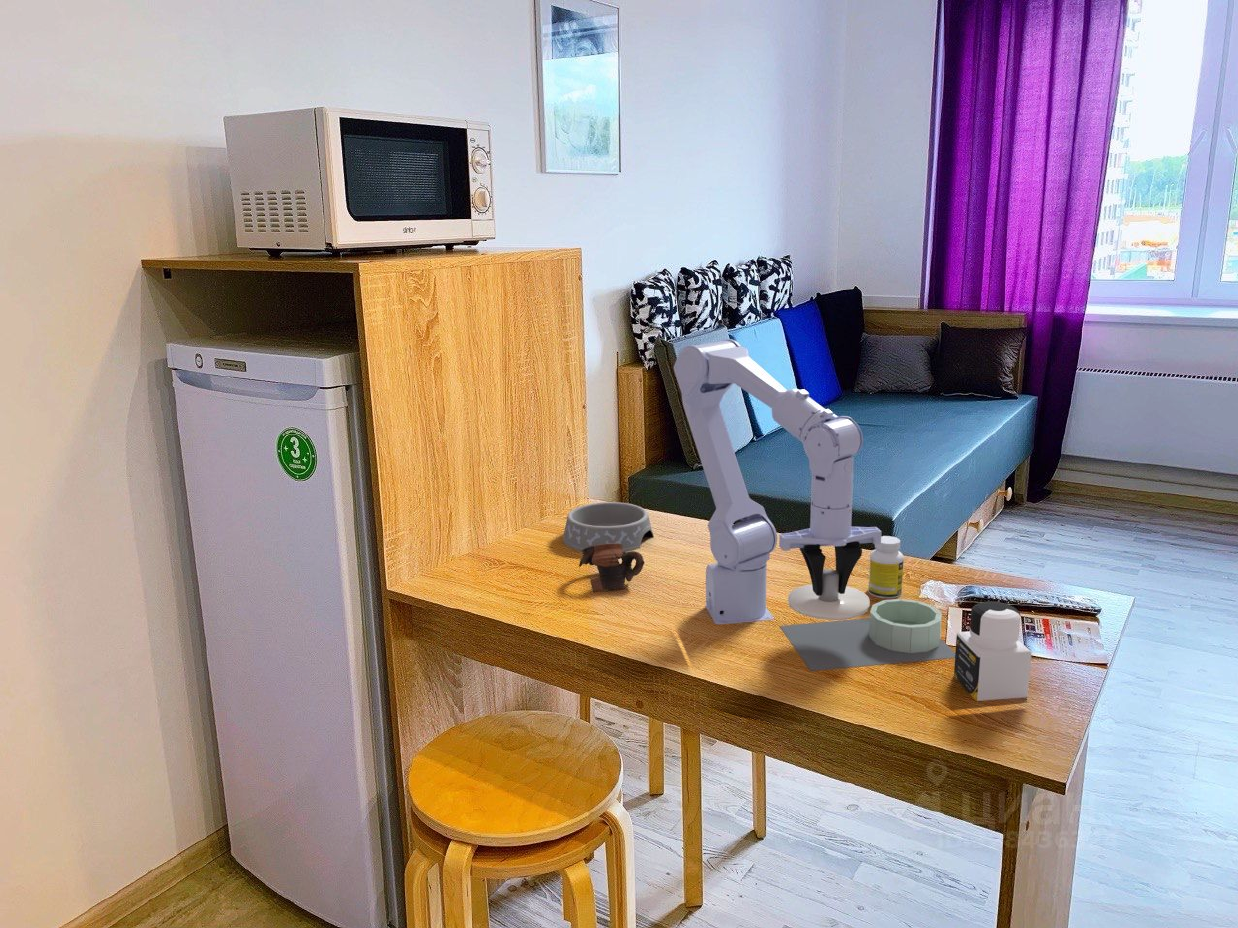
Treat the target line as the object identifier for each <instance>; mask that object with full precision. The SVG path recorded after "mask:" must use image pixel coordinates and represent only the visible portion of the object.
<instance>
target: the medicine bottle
mask: <svg viewBox="0 0 1238 928" xmlns="http://www.w3.org/2000/svg"><path fill="white" fill-rule="evenodd" d="M1020 627H1021V613H1020V612H1019V610H1018V609H1017V608H1016V607H1014V606H1012V605H1009V604H1007V603H1004V602H1000V601H994V600H993V601H990V600H989V601H981V602H979V603H976V604H975V605H973V606H972V607H971V610H970V623H969V631H958V632H957V633H956V637H955V641H956V642H955V651H954V652H955V658H954V665H953V667H954V668H953V677H954V679H956V680H957V681H958V683H959V684H960V685H961V686H962V687H963V688H964V690H965V691H966V692H967V693H968V694H969V695H970V696H971V697H972V699H974V701H977V702H979V701H992V700H1006V699H1008V700H1009V699H1022V698H1028V695H1029V685H1030V675H1031V663H1032V651H1031V650H1030V649H1029V648H1028V647H1027V646H1025V645H1024V643H1022V642H1021V641H1020V640H1019V637H1020Z"/></svg>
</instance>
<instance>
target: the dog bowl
mask: <svg viewBox="0 0 1238 928" xmlns="http://www.w3.org/2000/svg"><path fill="white" fill-rule="evenodd" d="M650 521H651V520H650V516H649V513H648V511H647V510H646V509H644V508H643V507H641V506H639V505H636V504H632V503H627V502H619V501H618V502H617V501H604V502H603V501H602V502H593V503H589V504H588V503H587V504H583V505H581V506H577V507H575V508H574V509H571V510H570V511H569V513H568V514H567V516H566V522H565V526H564V531H563V535H562V543H563V544H564V545H565V546H567V547H568V548H570V549H571V550H575V551H577V552H582V550H583V549H585V548H588V547H590V546H595V545H600V544H607V543H619V544H622V545H623V551H625V552H631V551H635V550H639V549H641V544H642V540H643V537H644V536H645V534H646V533H649V532H650V533H651V534H652V537H653V538H654V533H653V532H654V531H653V529H652V526H651V522H650ZM582 553H583V552H582Z"/></svg>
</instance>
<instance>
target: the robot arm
mask: <svg viewBox="0 0 1238 928" xmlns="http://www.w3.org/2000/svg"><path fill="white" fill-rule="evenodd" d="M749 353H750V352H749V350H748V348H746V347H744V346H741V344H740V342H737V340H735V339H732V338H727V339H723V340H720V341H714V342H707V343H701V344H695V345H693V344H691V345H686V346H684V347H683V348H681V350H680V351H679V353H678V355H677V357H676V360H675V363H674V365H673V371H674V375H675V377H676V380H677V383H678V386H679V387H678V388H679V389H680V392H681V401H682V407H683V409H684V412H685V416H686V418H687V422H688V424H689V428H690V431H691V434H692V438H693V441H694V443H695V447H696V449H697V450H696V451H697V453H698V456H699V460H700V462H701V466H702V468H703V471H704V475H705V478H706V481H707V483H708V487H709V491H710V493H711V496H712V499H713V503H714V506H715V511H714V512H713V514H712V516H711V518H710V519H709V520H708V521H709V522H708V523H707V529H708V531H709V536H710V540H709V545H710V546H709V547H710V551H711V554H712V556H713V558H714V559H715V561H716V563H711V564H708V565H706V569H705V604H704V607H705V608H706V610H707V612H708V613H709V615H710V617H711V619H712V620H713V623H714V624H715V625H727V624H738V623H751V622H761V621H772V620H774V619H775V617H773V614H772V613H771V612H770V611H769V609H768V608H767V563H768V561H769V560H770V556H771V555H770V554H771V553H773V551H775V549H776V547H777V545H778V544H779V545H778V546H779V548H780V549H781V550H782V551H783V552H786V551H787V552H788V551H790V550H791V549H792V550H793V549H799V551H800V552H801V554H802V555H801V556H802V558H803V559H804V562H805V564H806V566H807V570H808V573H809V576H810V581H811V584H812V587H813V592H814V593H815V594H816V595H817V596H822V591H823V570H824V567H825V562H826V558H827V557H826V555H825V554H824V553H823V550H822V548H821V547H829V546H830V547H831V546H832V547H834V553H835V555H834V557H835V570H836V571H838V572H839V593H840V594H844V593H845V589H846V586H848V582H849V580H850V577H851V574H852V572H853V570H854V567H856V564H857V563H858V562H859V560H860V559H861V558H862V555H863V549H862V548H861V546H860V544H869V543H872V544H873V545H875V544H881V536H882V530H880V528H878V527H877V526H870V527H869V526H868V527H867V526H852V515H853V513H852V512H853V491H854V490H853V488H854V487H853V486H854V484H853V483H854V465H855V464H854V460H855V457H854V456H856V455H858V453H859V452H860V451H861V449H862V448H863V443H864V435H863V431H862V429H861V427H860V425H859V424H858V423H857V422H856V421H855V420H854V419H853V418H852V417H850V416H848V415H841V416H840V415H839V416H838V415H836V414H834V412H833V411H831V410H830V409H829V408H827V409H826V408H824V406H822V405H820V404H819V403H818V402H816V401H815V400H814V399H813V398H812V397H810V393H809V391H807V390H806V389H798V388H790V389H788V390H787V389H786V388H785V387H784V386H783V385H782V384H780V383H779V382H778V381H777V380H776V379H775V378H774V377H772V375H770V374H769V373H768V372H767V371H766V370H764V368H762V367H761V366H760V365H759V364H758V363H757V362H756V361H754V360H753V359H752V358H751V357H750V354H749ZM733 385H736V386H737V387H739V388H740V389H742V390H743V391H745V392H746V393H748V394H749V395H750V396H752V397H754V398H755V399H757V400H759V401H760V402H762V403H763V404H764V405H766V406H767V407H768V408H771V417H772V419H773V421H775V423H776V424H778V425H779V426H780V427H782V428H784V430H786V431H787V432H788V433H789V434H790V435H792V436H793V437H794V438H796V439H797V440H798V441H799V442H801V443H802V446H803V450H804V453H805V455H806V456H807V458H808V463H809V465H808V467H809V468H808V469H809V470H810V473H811V480H810V481H811V483H810V484H811V486H810V487H811V489H810V492H811V493H810V521H809V522H810V523H809V528H804V529H800V530H795V531H792V532H784V533H779V534H778V533H777V530H776V528H775V526H774V524H773V523H772V521H771V520H770V519H769V517H768V515H767V513H766V511H765V507H764V506H763V505H762V504H759V503H758V502H756V501H754V500H753V499H752V498H750V495H749V492H748V490H747V487H746V483H745V481H744V478H743V474H742V472H741V468H740V465H739V462H738V458H737V457H736V453H735V450H734V447H733V443H732V440H731V437H730V434H729V431H728V428H727V425H726V421H725V419H724V416H723V413H722V410H721V408H720V403H721V402H722V400H723V397H724V395H725V394H726V393H727V392H728V390H729V389H730V388H731V387H732V386H733ZM738 520H741V521H740V522H737V523H735V522H736V521H738ZM734 523H735V524H734ZM778 535H779V537H778ZM778 538H779V539H778Z"/></svg>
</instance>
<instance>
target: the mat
mask: <svg viewBox="0 0 1238 928" xmlns="http://www.w3.org/2000/svg"><path fill="white" fill-rule="evenodd" d="M869 626H870V617H869V618H868V617H867V618H856V619H855V618H853V619H842V620H831V621H830V620H829V621H822V622H821V621H820V622H811V623H810V622H809V623H808V622H807V623H798V624H797V623H796V624H787V625H785V624H783V625H779V628H780V629H781V631H782V632H783V634H784V635H785V636H786V637H787V639H788V640H789V642H790V644H791V645H792V646H793V648H794V649H795V651H796V652H797V653H798V655H799V657H800V658H801V659H802V661H803V662H804V664H805V665H806V666H807V668H808V669H809V671H810V672H814V671H826V670H827V671H828V670H836V669H838V670H839V669H848V668H859V667H871V666H879V665H880V666H881V665H889V664H890V665H891V664H892V665H893V664H900V663H901V664H902V663H913V662H923V661H924V662H925V661H935V660H946V659H955V651H954V650H953V649H952V647H950V646H949V645H948V644H947V643H946V642H945V641H943V639H942V638H940V643H939V646H938V647H936V648H934V649H932V650H930V651H928V652H917V653H906V652H899V651H892V650H889V649H886V648H884V647H882V646H879V645H877V644H875V643H874V641H873V640H872V639H871V638H870V637H869Z"/></svg>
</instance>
